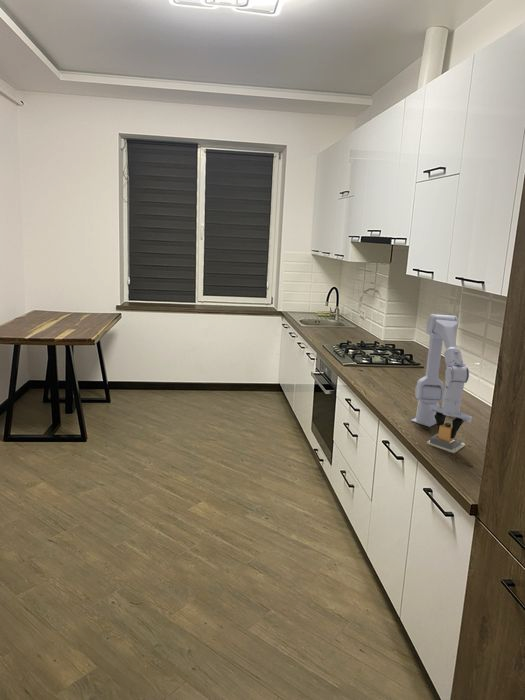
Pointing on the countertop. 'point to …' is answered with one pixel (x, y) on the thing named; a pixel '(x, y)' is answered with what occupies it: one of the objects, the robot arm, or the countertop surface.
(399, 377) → the countertop surface
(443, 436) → the block
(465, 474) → the countertop surface
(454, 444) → the end holder
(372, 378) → the countertop surface
